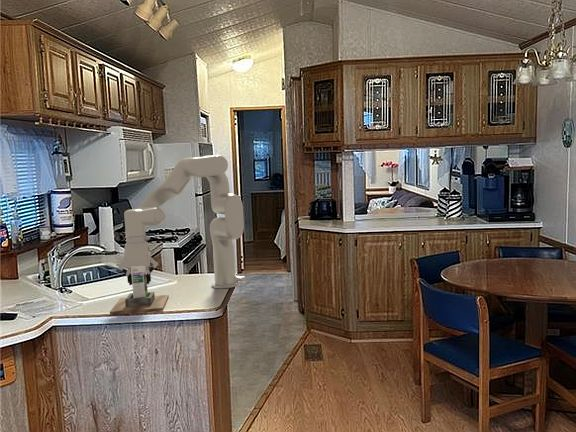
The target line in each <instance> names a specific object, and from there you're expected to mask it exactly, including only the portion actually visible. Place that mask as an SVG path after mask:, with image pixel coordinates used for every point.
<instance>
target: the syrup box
mask: <svg viewBox="0 0 576 432" xmlns="http://www.w3.org/2000/svg"><path fill="white" fill-rule="evenodd" d="M146 274H147V272H146V267H145V265H143V266H131V276H132V285H131V286H132V293H133V298H146V297H148V292H149V291H148V284H147V279H146Z"/></svg>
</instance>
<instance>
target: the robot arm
mask: <svg viewBox="0 0 576 432" xmlns="http://www.w3.org/2000/svg"><path fill="white" fill-rule="evenodd" d="M228 168H229V163H228V160H227V159H226V157H225V156H223V155H221V154H213V155H203V156H199V157H183V158H181V159H180V160H179V161H178V162H177V163H176V164H175V166H174V167H173V168H172V169H171V171H170V173H169V174H168V176H167V177H166V178H165V179H164V180H163V182H162V183H161V184H160V185H158V186H157V187H156V188H155V189H154V190H153V191H152V192H151V193H149V194H148V195H147V196H146V197H145V198H144V200H143V201H142V203H141V204H140V205H139V206H138V208H132V209H127V210H125V211H124V213H123V214H124V215H123V217H124V228H125V240H126V241H125V242H126V243H125V244H124V252H123V254H124V256H123V257H124V259H123V260H122V262H121V263H120V264H119V265H118V267H117V268H118V269H119V270H120V271H122V273H123V274H125V276H126V278H127V283H128V284H129V285H128V286H132V276H131V266H143V265H145V267H146V279H147V285H149V284H150V282H152V277H151V276H152V275H151V273H152V272H153V271H154V270H155V269H156V268H157V267H158V265H159V264H158V262H157V261H156V260H155V259H153V258H152V254H151V248H150V244H149V242H148V241H149V240H150V236H148V235H146V227H148V226H149V227H155V226H159V225H161V224H163V223H164V221H165V219H166V215H165V212H164V210H163V209H162V208H161V207H162V206H163V205H165V203H167V202H169V201H171V200H174V199H177V197H179V196H180V195H181V194H182V193H183V191H184V189H185V188H186V187H187V185H188V184H189V183H190V181H191V180H192V179H196V178H206V179H207V181H208V183H209V189H210V205H211V206H210V207H211V210H212V212H213V213H215V214H217V215H224V216H218V217H215V218H213V219H212V220H211V222H210V223H209V234H210V239H211V242H212V243H211V244H212V256H213V259H212V260H213V272H214V273H213V275H214V282H212V283H211V287H212V288H213V289H231V288H235V287H237V286H239V285H240V282H245V281H246V276H243V275H242V276H238V275H237V274H236V265H235V248H234V242H233V240H238V239H240V238H241V237H242V235H243V234H244V229H245V221H244V220H245V219H244V205H243V201H242V199H241V198H240V196H239V195H238V194H235V193H231V191H230V183H229V178H228V177H227V174H226V172H227V170H228ZM151 265H152V266H151Z"/></svg>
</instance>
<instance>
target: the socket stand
mask: <svg viewBox="0 0 576 432" xmlns="http://www.w3.org/2000/svg"><path fill="white" fill-rule="evenodd" d="M169 297H170V295H169V294H162V295H155V291H148V297H146V298H133V292H131V293H129V294H128V295H127V297H120V298H119V300H118V301H117V302H116V303H115V305H114V306H113V307H112V308H111V309H110V310H109V315H110V316H111V315H112V316H113V315H114V316H115V315H124V314H125V315H126V314H138V313H139V314H140V313H150V312H163V311H164V309H165V307H166V305H167V303H168V300H169Z"/></svg>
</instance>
